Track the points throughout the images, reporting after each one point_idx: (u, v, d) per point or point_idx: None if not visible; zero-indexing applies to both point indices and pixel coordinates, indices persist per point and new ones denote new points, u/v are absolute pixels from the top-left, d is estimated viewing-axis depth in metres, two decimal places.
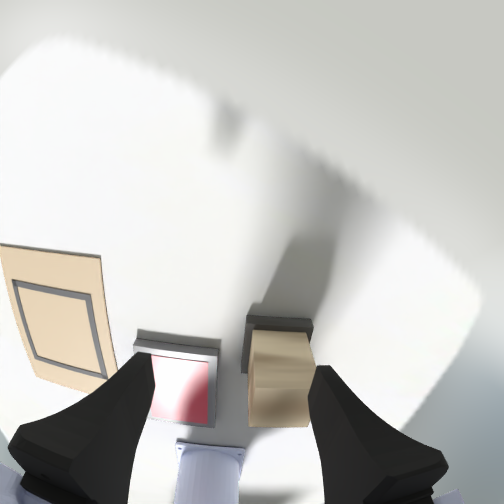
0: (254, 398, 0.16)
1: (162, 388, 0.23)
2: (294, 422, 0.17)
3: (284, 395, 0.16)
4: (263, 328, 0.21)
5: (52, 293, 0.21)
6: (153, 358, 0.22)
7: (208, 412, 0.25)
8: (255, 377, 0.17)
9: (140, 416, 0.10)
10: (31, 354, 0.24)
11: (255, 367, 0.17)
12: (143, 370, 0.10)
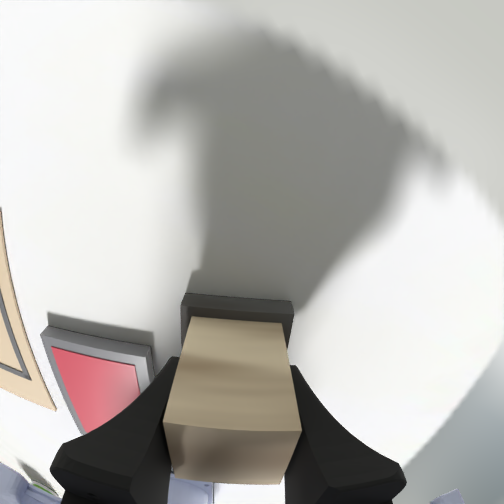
0: (168, 439, 0.07)
1: (86, 397, 0.15)
2: (254, 478, 0.08)
3: (223, 439, 0.07)
4: (208, 314, 0.13)
5: None
6: (65, 354, 0.14)
7: None
8: (170, 401, 0.08)
9: None
10: None
11: (175, 381, 0.09)
12: None
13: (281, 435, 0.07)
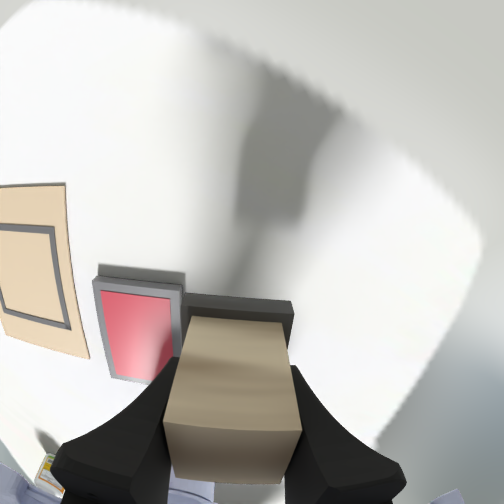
0: (168, 439, 0.07)
1: (123, 335, 0.21)
2: (254, 478, 0.08)
3: (224, 439, 0.07)
4: (208, 314, 0.13)
5: (20, 231, 0.19)
6: (112, 296, 0.20)
7: None
8: (170, 400, 0.08)
9: None
10: (0, 308, 0.22)
11: (175, 381, 0.09)
12: None
13: (281, 435, 0.07)
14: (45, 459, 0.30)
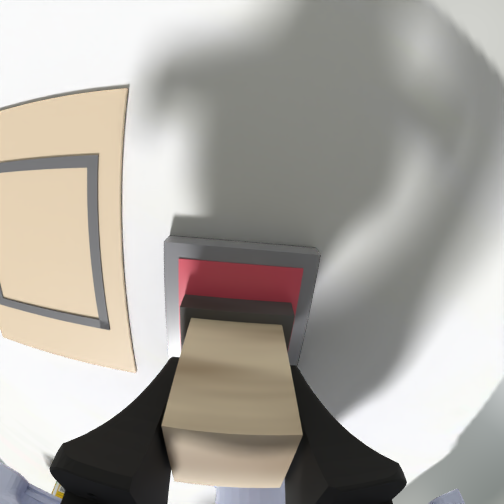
0: (167, 443, 0.07)
1: None
2: (254, 482, 0.08)
3: (223, 444, 0.07)
4: (208, 316, 0.13)
5: (35, 169, 0.12)
6: (201, 267, 0.13)
7: None
8: (168, 404, 0.08)
9: None
10: None
11: (174, 384, 0.09)
12: None
13: (281, 439, 0.07)
14: (56, 487, 0.23)
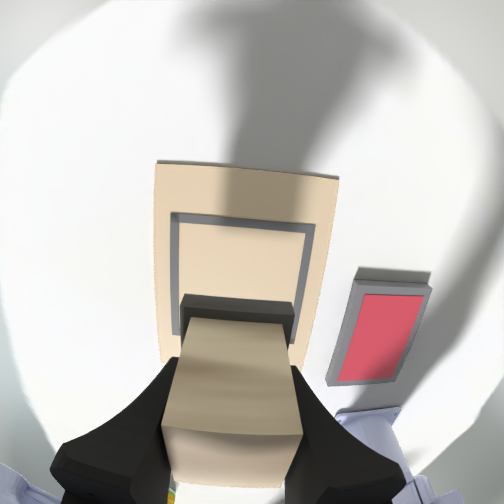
0: (167, 443, 0.07)
1: (368, 338, 0.22)
2: (254, 482, 0.08)
3: (223, 443, 0.07)
4: (208, 315, 0.13)
5: (250, 227, 0.19)
6: (375, 298, 0.21)
7: (399, 361, 0.23)
8: (168, 403, 0.08)
9: None
10: (166, 329, 0.22)
11: (174, 383, 0.09)
12: None
13: (282, 439, 0.07)
14: None
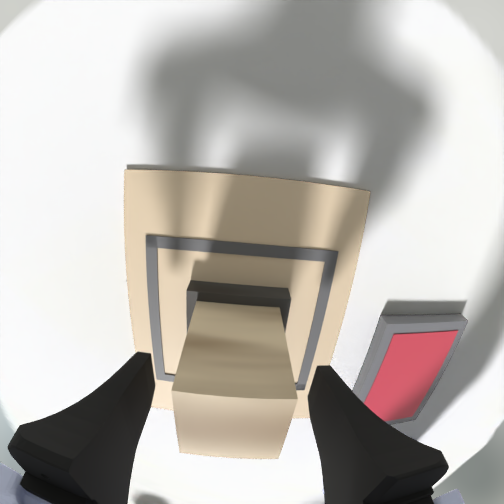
0: (175, 409, 0.09)
1: (393, 380, 0.17)
2: (254, 452, 0.10)
3: (226, 408, 0.09)
4: (212, 299, 0.14)
5: (252, 254, 0.15)
6: (405, 338, 0.16)
7: (423, 400, 0.18)
8: (177, 373, 0.09)
9: (140, 416, 0.10)
10: None
11: (182, 356, 0.10)
12: (143, 370, 0.10)
13: (278, 403, 0.09)
14: None
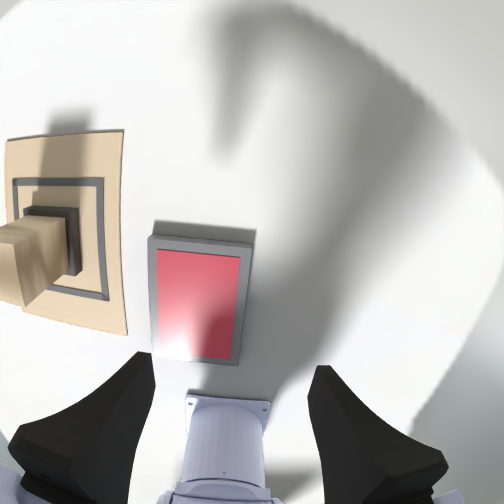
0: None
1: (178, 303, 0.21)
2: (12, 296, 0.13)
3: None
4: (33, 213, 0.18)
5: (57, 185, 0.18)
6: (171, 255, 0.19)
7: (233, 340, 0.22)
8: None
9: (140, 416, 0.10)
10: None
11: None
12: (143, 370, 0.10)
13: (7, 247, 0.12)
14: None
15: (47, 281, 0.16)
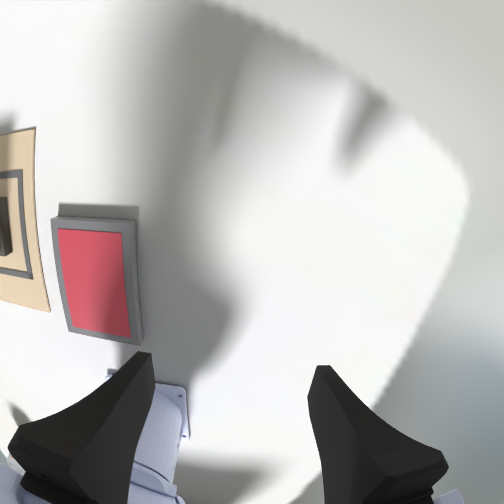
0: None
1: (78, 279, 0.20)
2: None
3: None
4: None
5: None
6: (68, 233, 0.19)
7: (129, 317, 0.21)
8: None
9: (140, 416, 0.10)
10: None
11: None
12: (143, 370, 0.10)
13: None
14: None
15: None
